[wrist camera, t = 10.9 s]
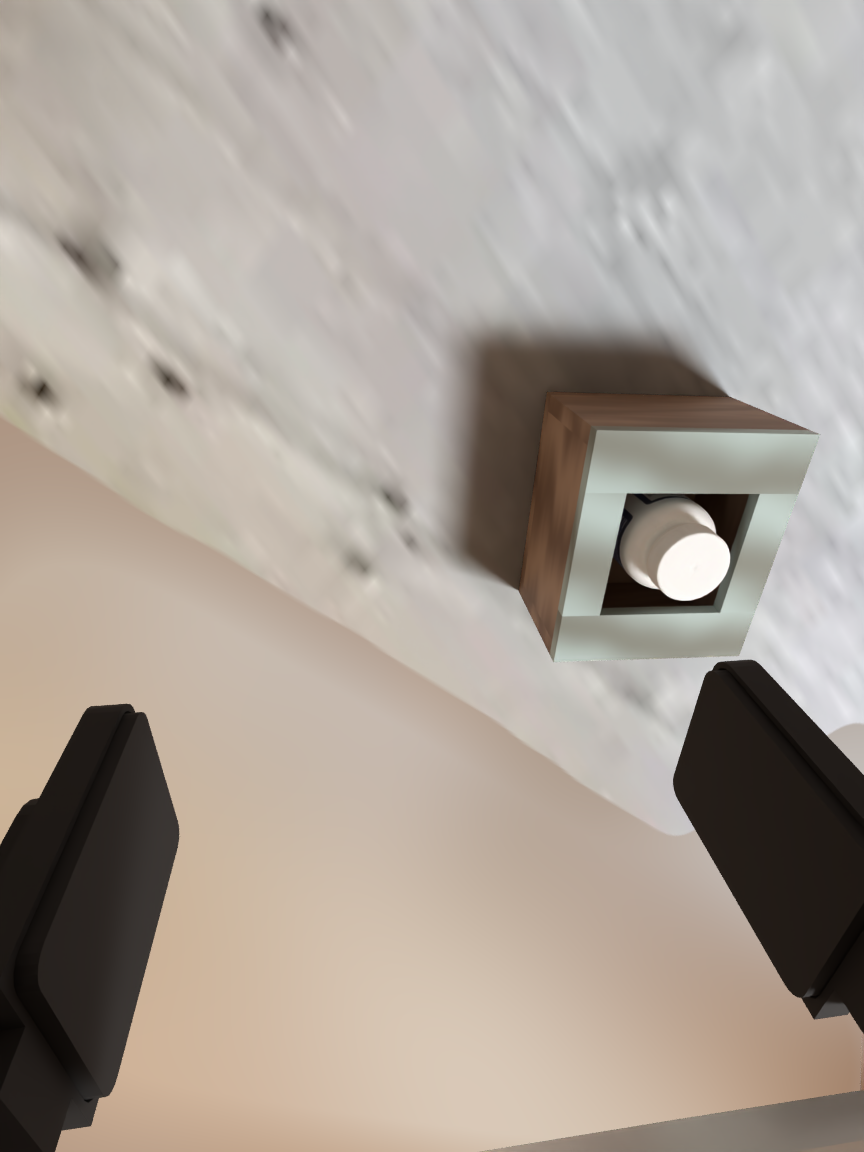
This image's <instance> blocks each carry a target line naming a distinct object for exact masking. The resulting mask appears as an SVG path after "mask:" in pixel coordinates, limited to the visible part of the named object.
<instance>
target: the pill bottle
mask: <svg viewBox="0 0 864 1152" xmlns="http://www.w3.org/2000/svg"><path fill="white" fill-rule="evenodd" d="M613 558H614V559H615V560H616V561H617V562H618V563H619V565H620V566H621V567H622V568H623V569H624V570H625V571H626V572H627V573H628V575H629V576H631V577H632V578H633V579H634V580H635V581H636V582H638V583H639V584H641V585H643V586H646V587H649V588H654V589H660V590H661V591H662V592H663V593H664V594H665V595H667V596H668V597H670V598H672V599H675V600H680V601H688V600H694V599H698V598H700V597H702V596H704V595H706V594H708V593H710V592H711V591H712V590H714V589H715V588H716V587H717V586H718V585H719V584H720V582H721V581H722V580H723V578H724V577H725V575H726V573H727V570H728V568H729V564H730V552H729V549H728V546H727V544H726V543H725V542H724V540H723V539H722V538H720V537H719V536H718V535H717V534H716V530H715V525H714V523H713V520H712V519H711V517H710V515H709V514H708V513H707V512H706V511H705V510H704V509H703V508H702V507H701V506H700V505H698V504H697V503H695V502H694V501H692V500H691V499H690V498H688V497H686V496H685V495H684V494H672V493H627V495H626V499H625V504H624V508H623V513H622V517H621V522H620V526H619V531H618V535H617V540H616V544H615V549H614V553H613Z"/></svg>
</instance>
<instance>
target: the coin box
mask: <svg viewBox="0 0 864 1152" xmlns="http://www.w3.org/2000/svg"><path fill="white" fill-rule="evenodd" d="M819 436H820V434H818V433H815V432H813V431H810V430H808V429H806V428H803V427H801V426H799V425H796V424H794V423H791V422H789V421H787V420H784V419H782V418H779V417H777V416H775V415H772V414H770V413H767V412H765V411H763V410H760V409H758V408H755V407H753V406H751V405H748V404H746V403H743V402H741V401H739V400H736V399H734V398H732V397H716V396H680V395H644V394H609V393H573V392H547V395H546V402H545V409H544V416H543V424H542V431H541V438H540V445H539V452H538V459H537V466H536V473H535V480H534V487H533V494H532V501H531V508H530V515H529V522H528V529H527V536H526V543H525V550H524V557H523V564H522V571H521V578H520V585H519V593H520V595H521V597H522V599H523V601H524V603H525V605H526V607H527V609H528V611H529V613H530V615H531V617H532V619H533V621H534V623H535V625H536V627H537V629H538V631H539V633H540V635H541V637H542V639H543V642H544V644H545V646H546V648H547V650H548V652H549V654H550V656H551V658H552V660H553V662H575V661H604V660H633V659H662V658H691V657H720V656H739V654H740V652H741V649H742V646H743V643H744V641H745V638H746V635H747V632H748V630H749V627H750V624H751V622H752V619H753V616H754V613H755V611H756V608H757V605H758V603H759V600H760V597H761V594H762V592H763V589H764V586H765V583H766V581H767V578H768V575H769V573H770V570H771V567H772V564H773V562H774V559H775V556H776V553H777V551H778V548H779V545H780V543H781V540H782V537H783V534H784V532H785V529H786V526H787V524H788V521H789V518H790V515H791V513H792V510H793V507H794V504H795V502H796V499H797V496H798V494H799V491H800V488H801V485H802V483H803V480H804V477H805V475H806V472H807V469H808V466H809V464H810V461H811V458H812V455H813V453H814V450H815V447H816V445H817V442H818V439H819ZM627 493H672V494H684V495H685V496H686V497H688V498H690V499H691V500H692V501H694V502H695V503H697V504H698V505H700V506H701V507H702V508H703V509H704V510H705V511H706V512H707V513H708V514H709V515H710V517H711V519H712V520H713V523H714V525H715V530H716V534H717V535H718V536H719V537H720V538H722V539H723V540H724V542H725V543H726V544H727V546H728V549H729V552H730V564H729V568H728V570H727V573H726V575H725V577H724V578H723V580H722V581H721V582H720V584H719V585H718V586H717V587H716V588H715V589H714V590H712V591H711V592H710V593H708V594H706V595H704V596H702V597H700V598H698V599H694V600H688V601H680V600H675V599H672V598H670V597H668V596H667V595H665V594H664V593H663V592H662V591H661V590H660V589H654V588H649V587H646V586H643V585H641V584H639V583H638V582H636V581H635V580H634V579H633V578H632V577H631V576H629V575H628V573H627V572H626V571H625V570H624V569H623V568H622V567H621V566H620V565H619V563H618V562H617V561H616V560H615V559H614V558H613V553H614V549H615V544H616V540H617V535H618V531H619V526H620V522H621V517H622V513H623V508H624V504H625V499H626V495H627Z"/></svg>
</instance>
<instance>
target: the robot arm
mask: <svg viewBox="0 0 864 1152" xmlns="http://www.w3.org/2000/svg"><path fill="white" fill-rule="evenodd" d="M673 786H674V791H675V794H676V797H677V799H678V801H679V802H680V804H681V806H682V808H683V809H684V811H685V813H686V814H687V816H688V818H689V820H690V821H691V823H692V825H693V827H694V828H695V830H696V832H697V834H698V835H699V837H700V839H701V840H702V842H703V844H704V845H705V847H706V849H707V851H708V852H709V854H710V856H711V858H712V859H713V861H714V863H715V864H716V866H717V868H718V870H719V871H720V873H721V875H722V877H723V878H724V880H725V882H726V884H727V885H728V887H729V889H730V890H731V892H732V894H733V896H734V897H735V899H736V901H737V902H738V904H739V906H740V908H741V909H742V911H743V913H744V915H745V916H746V918H747V920H748V922H749V923H750V925H751V927H752V929H753V930H754V932H755V933H756V936H757V937H758V939H759V941H760V942H761V944H762V946H763V948H764V949H765V951H766V953H767V955H768V956H769V958H770V960H771V962H772V963H773V965H774V967H775V968H776V970H777V972H778V974H779V975H780V977H781V979H782V981H783V982H784V983H785V985H786V987H787V988H788V990H789V991H790V992H791V993H792V994H793V995H795V996H796V997H799V998H802V1000H803V1002H804V1003H805V1005H806V1007H807V1008H808V1010H809V1012H810V1013H811V1015H812V1017H813V1018H814V1019H821V1018H828V1017H835V1016H842V1015H848V1013H849V1012H850V1013H851V1015H852V1017H853V1018H854V1020H855V1021H856V1023H857V1024H858V1026H859V1027H860V1029H861V1031H862V1043H861V1046H862V1047H861V1081H860V1084H861V1085H860V1091H855V1092H849V1093H842V1094H836V1095H829V1096H823V1097H817V1098H810V1099H805V1100H797V1101H791V1102H785V1103H778V1104H772V1105H766V1106H760V1107H753V1108H747V1109H741V1110H735V1111H728V1112H722V1113H715V1114H709V1115H703V1116H697V1117H690V1118H685V1119H677V1120H672V1121H665V1122H659V1123H653V1124H647V1125H641V1126H635V1127H628V1128H622V1129H616V1130H610V1131H604V1132H598V1133H592V1134H585V1135H579V1136H573V1137H567V1138H561V1139H555V1140H549V1141H543V1142H536V1143H530V1144H524V1145H519V1146H512V1147H506V1148H501V1149H494V1150H488V1151H482V1152H864V775H863V774H862V773H861V772H860V771H859V770H858V768H857V767H855V765H854V764H853V763H852V762H851V761H850V760H849V759H848V758H847V757H846V756H845V755H844V754H843V753H842V751H841V750H840V749H839V748H838V747H837V746H836V745H835V744H834V743H833V742H832V741H831V740H830V739H829V738H828V737H827V735H826V734H825V733H824V732H823V731H822V730H821V729H820V728H819V727H818V726H817V725H816V724H815V723H814V722H813V721H812V719H811V718H810V717H809V716H808V715H807V714H806V713H805V712H804V711H803V710H802V709H801V708H800V707H799V706H798V705H797V703H796V702H795V701H794V700H793V699H792V698H791V697H790V696H789V695H788V694H787V693H786V692H785V691H784V690H783V689H782V687H781V686H780V685H779V684H778V683H777V682H776V681H775V680H774V679H773V678H772V677H771V676H770V675H769V674H768V673H767V671H766V670H765V669H764V668H763V667H762V666H761V665H760V664H759V663H757V662H756V661H753V660H739V661H725V662H718V663H717V664H716V665H715V666H714V668H713V670H712V671H709V672H708V673H706V675H705V677H704V680H703V684H702V687H701V690H700V693H699V696H698V700H697V703H696V706H695V709H694V713H693V716H692V719H691V722H690V725H689V729H688V732H687V735H686V738H685V741H684V745H683V748H682V751H681V754H680V757H679V761H678V764H677V767H676V770H675V773H674V777H673ZM178 842H179V825H178V820H177V817H176V814H175V811H174V807H173V804H172V800H171V797H170V793H169V790H168V787H167V783H166V780H165V777H164V773H163V770H162V767H161V763H160V760H159V756H158V753H157V750H156V746H155V743H154V740H153V736H152V733H151V730H150V726H149V723H148V719H147V717H146V715H145V713H143V712H137V713H135V711H134V709H133V707H132V706H131V705H130V704H118V705H104V706H91V707H89V708H87V709H86V711H85V712H84V714H83V715H82V717H81V719H80V721H79V723H78V725H77V727H76V729H75V731H74V733H73V735H72V736H71V739H70V740H69V742H68V744H67V746H66V748H65V750H64V752H63V754H62V756H61V757H60V759H59V761H58V763H57V765H56V767H55V769H54V771H53V773H52V775H51V776H50V778H49V780H48V782H47V784H46V786H45V788H44V790H43V792H42V794H41V796H40V798H38V799H32V800H30V801H29V802H27V803H26V804H25V805H23V807H22V808H21V810H20V811H19V813H18V814H17V816H16V817H15V819H14V821H13V823H12V824H11V826H10V828H9V830H8V832H7V834H6V835H5V837H4V839H3V841H2V843H1V845H0V1152H55V1150H56V1147H57V1143H58V1140H59V1137H60V1134H61V1130H68V1129H75V1128H81V1127H88V1126H91V1124H92V1121H93V1117H94V1114H95V1110H96V1106H97V1103H98V1099H99V1098H101V1097H106V1096H108V1095H109V1094H110V1093H111V1092H112V1089H113V1087H114V1085H115V1082H116V1079H117V1076H118V1072H119V1069H120V1065H121V1061H122V1057H123V1053H124V1050H125V1046H126V1042H127V1038H128V1034H129V1030H130V1026H131V1023H132V1019H133V1015H134V1011H135V1008H136V1004H137V1000H138V996H139V992H140V988H141V985H142V981H143V977H144V973H145V969H146V966H147V962H148V958H149V954H150V951H151V947H152V943H153V939H154V935H155V932H156V927H157V924H158V920H159V916H160V912H161V908H162V905H163V901H164V897H165V894H166V890H167V886H168V882H169V878H170V874H171V871H172V867H173V863H174V859H175V855H176V852H177V848H178Z"/></svg>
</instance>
